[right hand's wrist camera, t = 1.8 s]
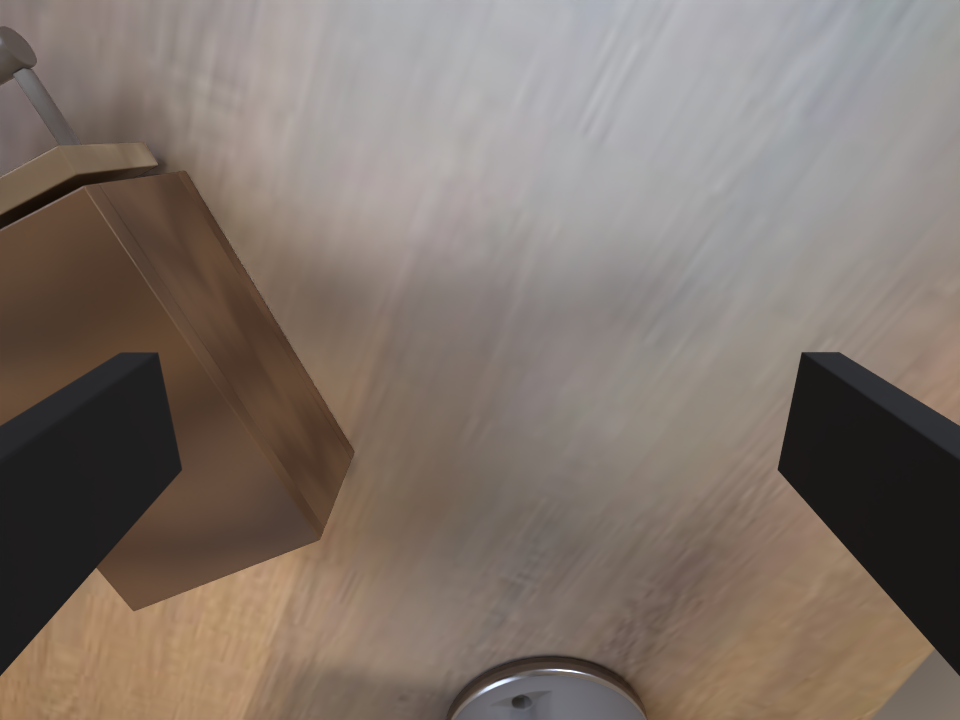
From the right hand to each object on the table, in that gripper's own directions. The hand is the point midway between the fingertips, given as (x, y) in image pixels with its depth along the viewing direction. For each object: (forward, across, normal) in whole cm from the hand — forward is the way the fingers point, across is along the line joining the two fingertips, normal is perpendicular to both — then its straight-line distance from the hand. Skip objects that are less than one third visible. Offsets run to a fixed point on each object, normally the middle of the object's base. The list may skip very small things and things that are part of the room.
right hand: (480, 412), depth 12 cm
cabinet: (+21, +16, +7) cm, 27 cm away
